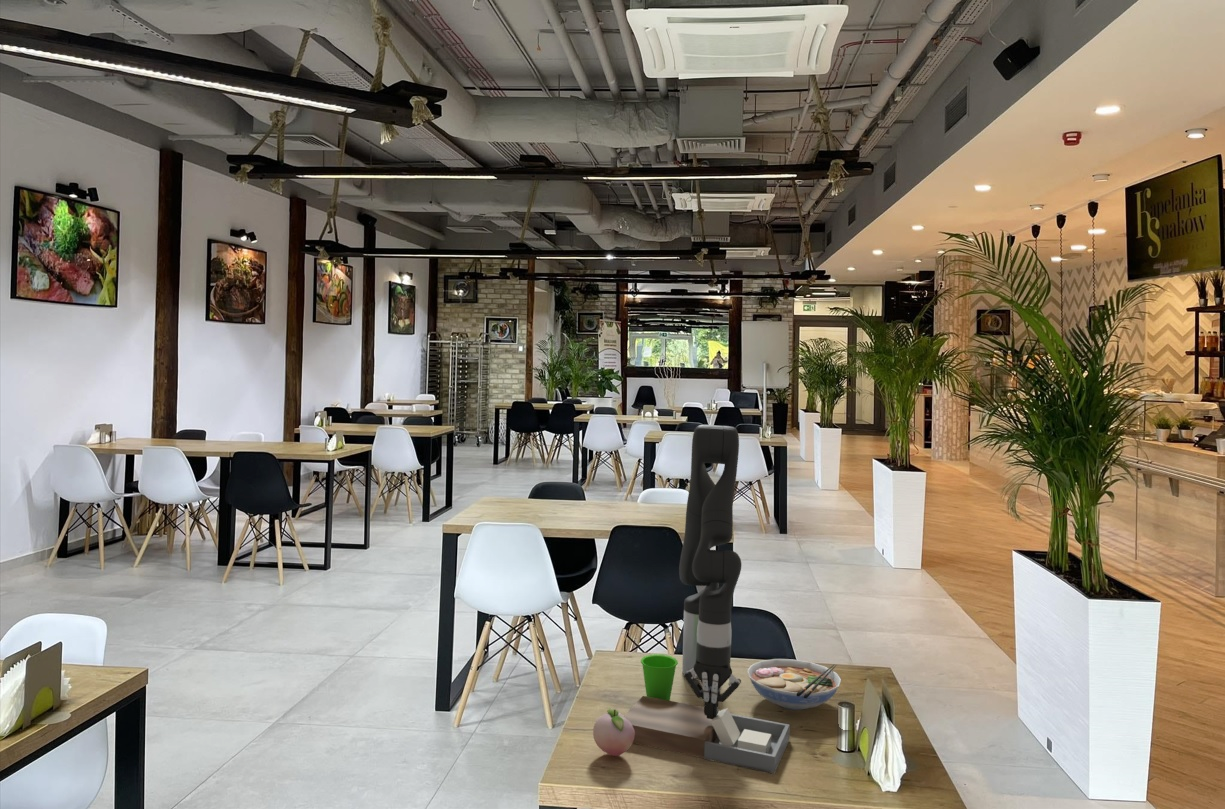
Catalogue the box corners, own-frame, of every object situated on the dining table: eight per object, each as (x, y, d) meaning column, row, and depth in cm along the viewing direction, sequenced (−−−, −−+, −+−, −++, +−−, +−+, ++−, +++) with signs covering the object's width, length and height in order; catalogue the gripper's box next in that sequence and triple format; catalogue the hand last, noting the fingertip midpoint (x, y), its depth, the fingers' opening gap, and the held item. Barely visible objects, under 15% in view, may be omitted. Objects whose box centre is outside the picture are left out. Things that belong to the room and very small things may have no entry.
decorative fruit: (586, 750, 171) (587, 704, 171) (620, 743, 175) (621, 698, 174) (603, 770, 163) (604, 722, 163) (639, 763, 166) (640, 715, 166)
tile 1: (718, 711, 179) (727, 707, 178) (730, 736, 178) (740, 733, 177) (711, 722, 173) (720, 718, 173) (723, 748, 172) (733, 744, 172)
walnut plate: (642, 712, 191) (643, 695, 191) (724, 728, 184) (724, 710, 183) (617, 739, 177) (617, 722, 176) (704, 758, 169) (705, 739, 169)
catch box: (724, 727, 184) (724, 712, 184) (789, 740, 178) (789, 724, 178) (704, 758, 169) (704, 742, 168) (774, 773, 163) (774, 756, 163)
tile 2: (771, 734, 174) (771, 745, 174) (744, 729, 176) (744, 740, 177) (765, 745, 169) (765, 757, 169) (737, 740, 171) (737, 751, 171)
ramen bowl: (769, 678, 215) (770, 648, 214) (854, 699, 202) (855, 667, 201) (728, 709, 194) (729, 676, 194) (819, 735, 181) (821, 699, 181)
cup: (633, 707, 194) (634, 663, 193) (649, 695, 202) (650, 652, 201) (667, 716, 189) (668, 670, 189) (682, 702, 197) (683, 658, 197)
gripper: (747, 640, 176) (744, 717, 177) (690, 630, 182) (687, 705, 182) (739, 650, 169) (736, 730, 170) (679, 640, 175) (677, 718, 175)
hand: (710, 717), depth 176 cm, fingers closed
